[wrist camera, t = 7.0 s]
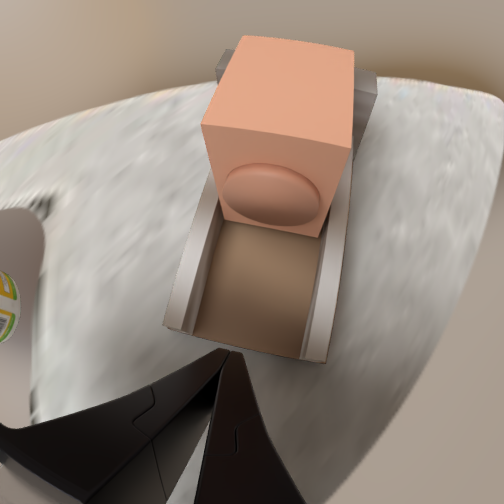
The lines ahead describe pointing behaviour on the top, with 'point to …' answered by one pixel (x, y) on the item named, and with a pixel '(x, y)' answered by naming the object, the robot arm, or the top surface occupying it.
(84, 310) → the top surface
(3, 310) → the supplement bottle
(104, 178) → the top surface
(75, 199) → the top surface
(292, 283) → the rail
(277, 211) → the peach knobbed cube
